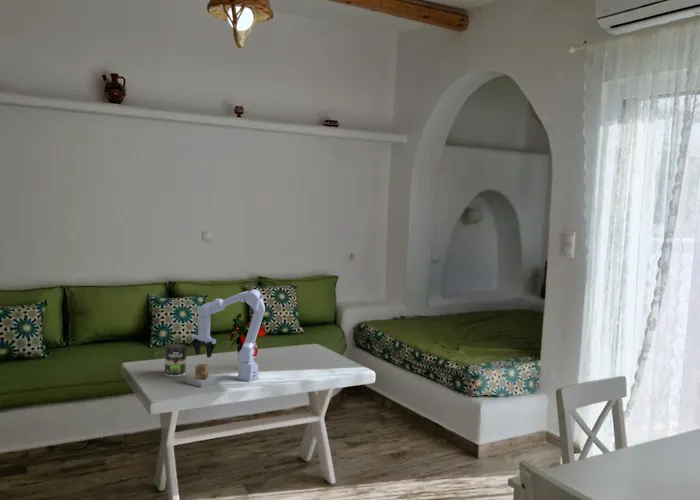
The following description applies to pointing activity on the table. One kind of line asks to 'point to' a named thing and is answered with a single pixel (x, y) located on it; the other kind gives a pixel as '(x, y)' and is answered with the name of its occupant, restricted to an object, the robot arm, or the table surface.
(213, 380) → the pedestal
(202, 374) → the walnut block
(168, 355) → the coffee can
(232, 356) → the table surface
